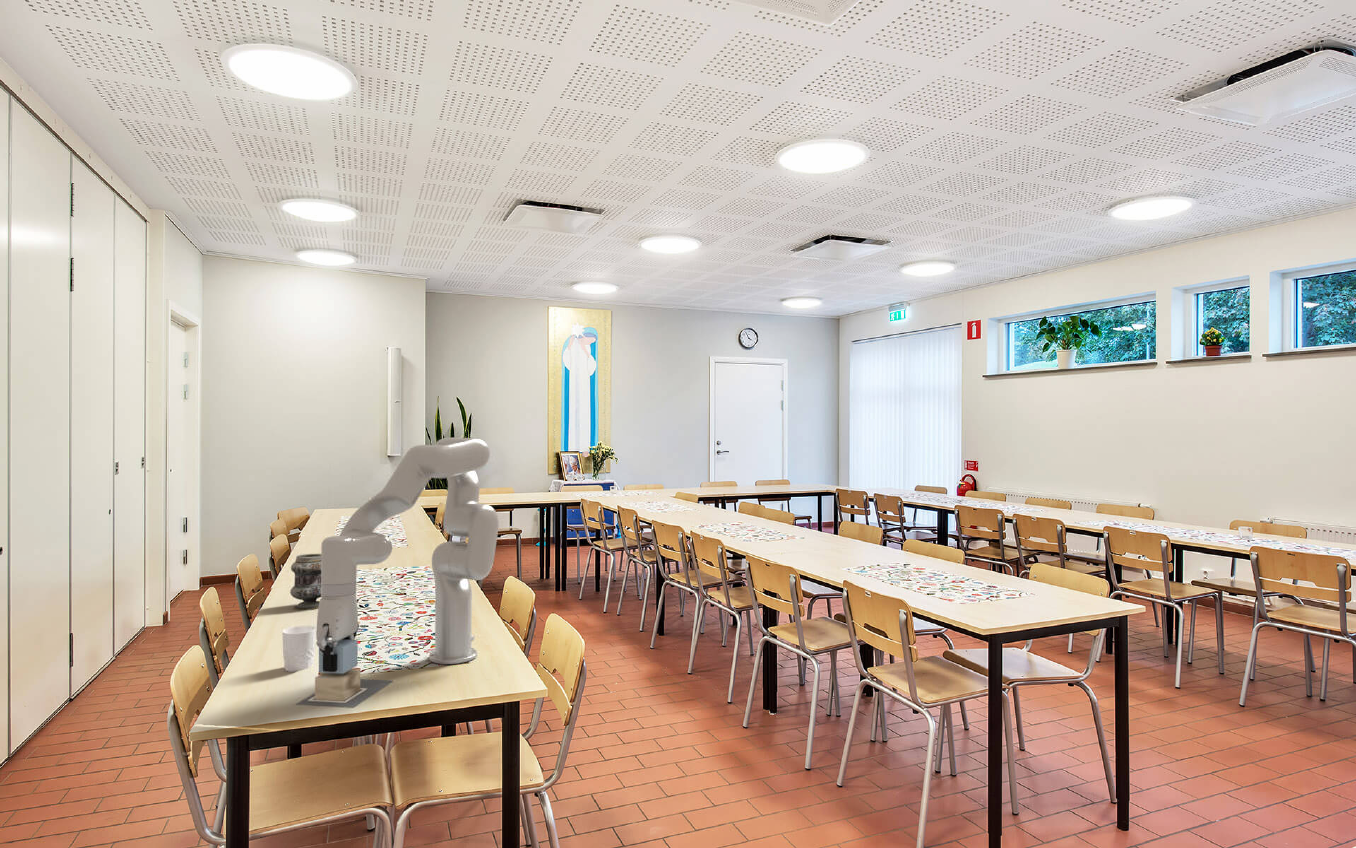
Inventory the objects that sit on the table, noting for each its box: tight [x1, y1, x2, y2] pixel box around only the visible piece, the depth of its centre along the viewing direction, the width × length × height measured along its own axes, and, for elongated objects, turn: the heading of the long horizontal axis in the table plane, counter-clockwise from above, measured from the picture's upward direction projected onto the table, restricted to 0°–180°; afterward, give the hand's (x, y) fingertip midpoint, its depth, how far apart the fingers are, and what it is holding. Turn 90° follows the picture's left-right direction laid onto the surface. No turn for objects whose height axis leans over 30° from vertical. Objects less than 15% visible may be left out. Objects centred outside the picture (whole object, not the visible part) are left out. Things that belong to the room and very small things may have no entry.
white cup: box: [281, 625, 317, 673], centre depth 197 cm, size 8×8×10 cm
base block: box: [314, 668, 361, 701], centre depth 176 cm, size 7×7×5 cm
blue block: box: [318, 639, 359, 674], centre depth 176 cm, size 6×6×6 cm
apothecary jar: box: [289, 553, 321, 611], centre depth 263 cm, size 12×12×18 cm
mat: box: [295, 678, 394, 709], centre depth 178 cm, size 18×14×1 cm
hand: (338, 665), depth 176 cm, fingers closed on blue block, 6 cm apart
